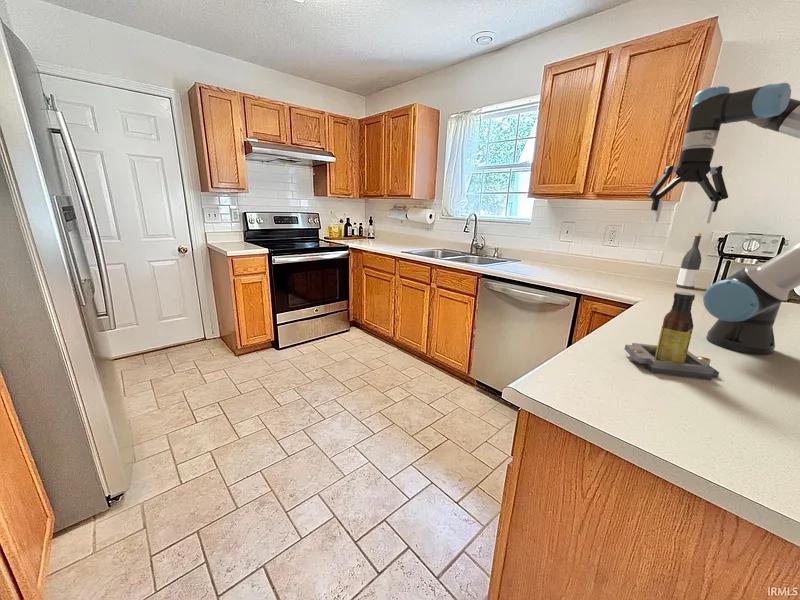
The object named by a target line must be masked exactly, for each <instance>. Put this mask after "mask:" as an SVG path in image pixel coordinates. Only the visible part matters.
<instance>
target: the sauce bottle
mask: <svg viewBox="0 0 800 600" xmlns="http://www.w3.org/2000/svg"><path fill="white" fill-rule="evenodd" d="M695 297H696V295H695V294H694V293H690V292H685V291H684V292H683V291H676V292H674V294H673V302H672V306H671V309H670V311H668V312H667V313H666V314H665V315H664V318H663V322H662V326H661V328H660V333H659V338H658V342H657V350H656V355H655V357H654V358H655V359H657V360H659V361H667V362H676V363H685V359H686V355H687V351H689V346H690V343H691V339H692V334H693V330H694V322H693V314H692V306H693V301H694V300H695V299H696V298H695Z"/></svg>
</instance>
